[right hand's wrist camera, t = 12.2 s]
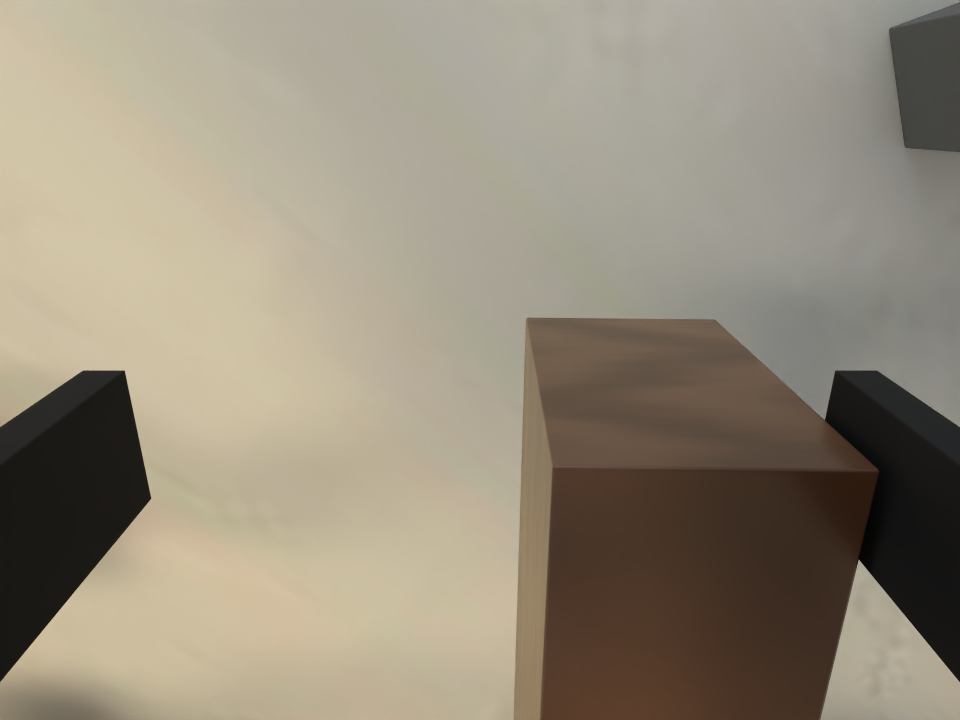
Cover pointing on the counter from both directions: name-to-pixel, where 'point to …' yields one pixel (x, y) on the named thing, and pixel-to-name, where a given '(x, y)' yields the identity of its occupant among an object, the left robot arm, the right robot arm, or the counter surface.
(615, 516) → the plank
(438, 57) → the counter surface
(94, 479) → the right robot arm
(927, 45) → the grey block
